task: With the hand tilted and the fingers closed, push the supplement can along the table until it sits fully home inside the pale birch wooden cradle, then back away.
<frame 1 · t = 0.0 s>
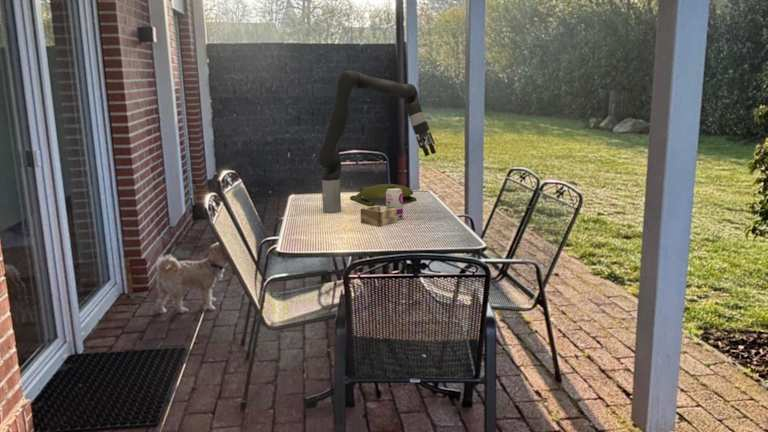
hand: (430, 154, 317), 31 cm above the table, tool tilted 20°, fingers open, 8 cm apart
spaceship: (384, 201, 375), on the table
cradle: (380, 222, 317), on the table
supplement can: (394, 219, 324), on the table
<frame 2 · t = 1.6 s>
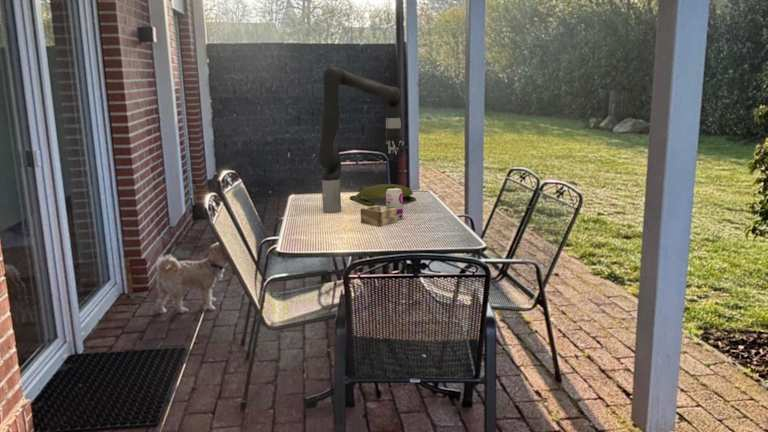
hand: (394, 161, 333), 27 cm above the table, tool pointing down, fingers open, 3 cm apart
nothing on the table moved.
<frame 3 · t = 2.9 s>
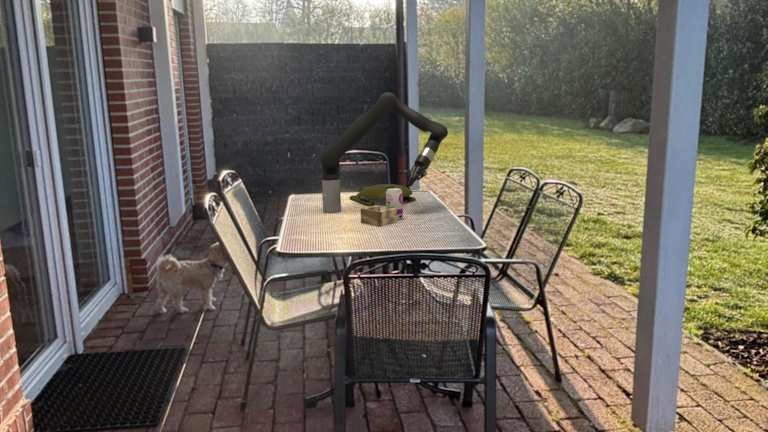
hand: (409, 185, 328), 15 cm above the table, tool tilted 45°, fingers closed
nothing on the table moved.
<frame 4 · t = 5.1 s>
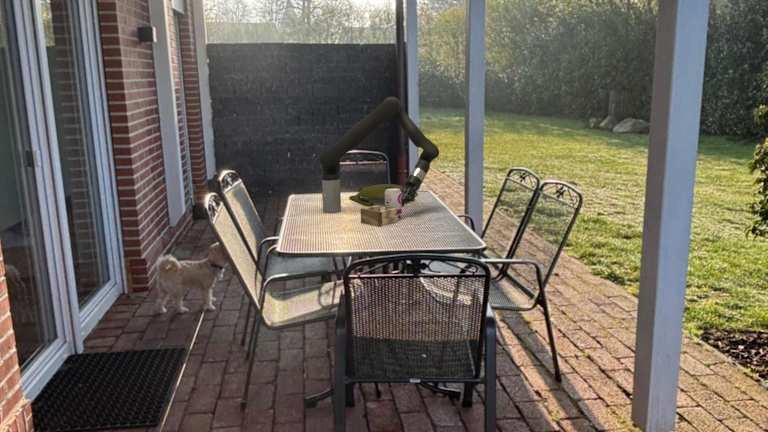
hand: (399, 206, 326), 6 cm above the table, tool tilted 45°, fingers closed
supplement can: (393, 219, 324), on the table, touching gripper
everything else where it was.
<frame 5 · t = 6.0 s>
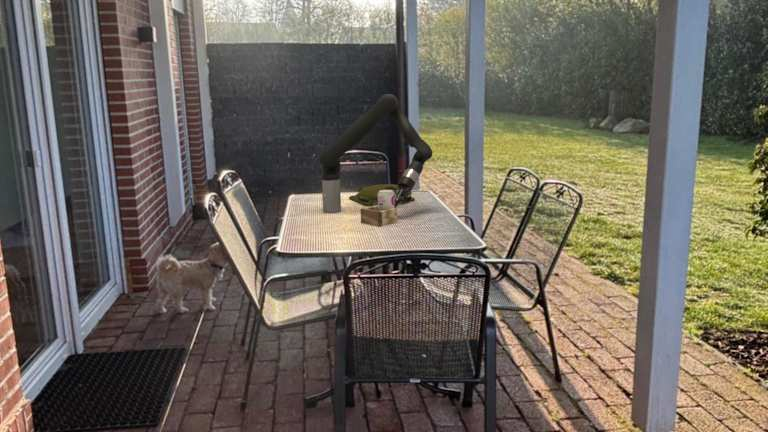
hand: (392, 207, 322), 6 cm above the table, tool tilted 45°, fingers closed
supplement can: (386, 221, 320), on the table, touching gripper
everything else where it was.
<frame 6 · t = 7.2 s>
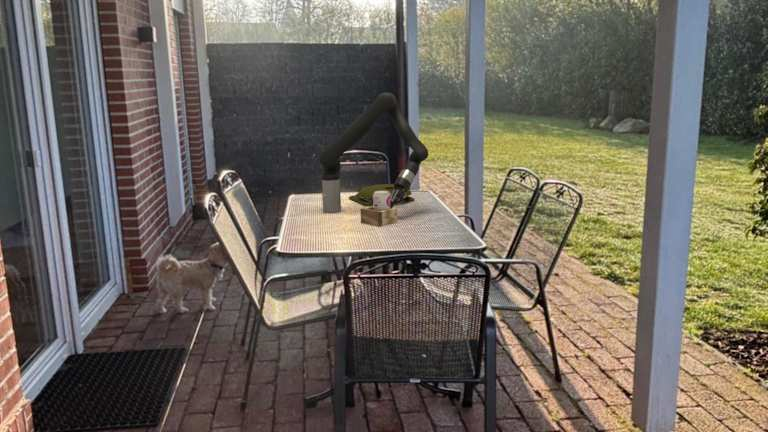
hand: (388, 208, 320), 6 cm above the table, tool tilted 45°, fingers closed
supplement can: (382, 222, 318), on the table, touching gripper
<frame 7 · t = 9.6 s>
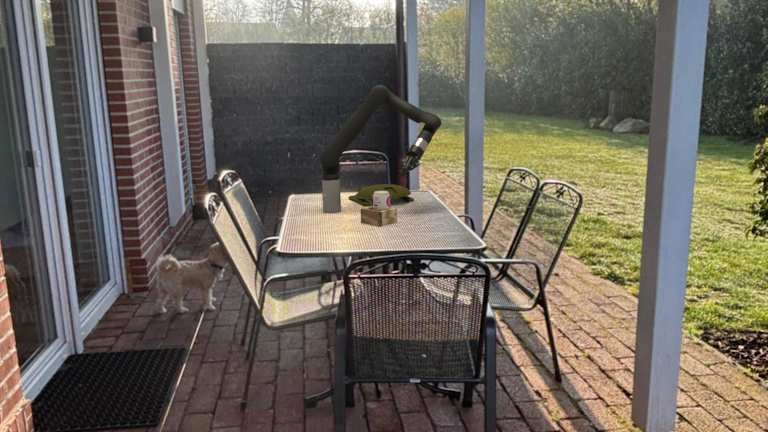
hand: (401, 175, 325), 21 cm above the table, tool tilted 45°, fingers closed
supplement can: (382, 222, 318), on the table
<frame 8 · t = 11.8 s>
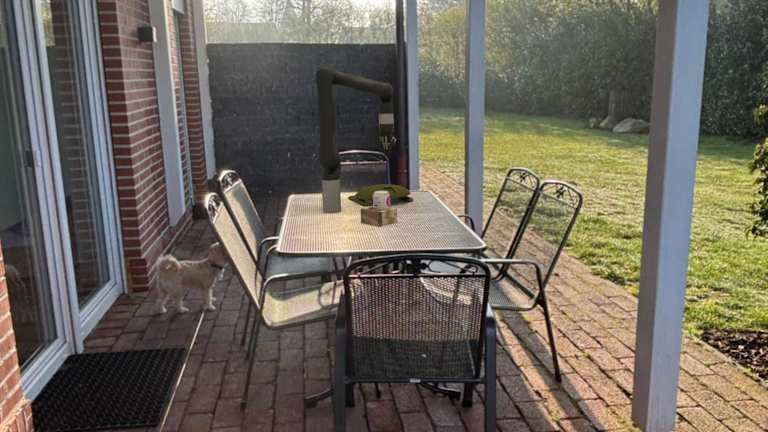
hand: (387, 156, 337), 29 cm above the table, tool pointing down, fingers closed
at the end: supplement can 1.0 cm from the cradle (horizontally); supplement can tilted 0°; the gripper is holding nothing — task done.
